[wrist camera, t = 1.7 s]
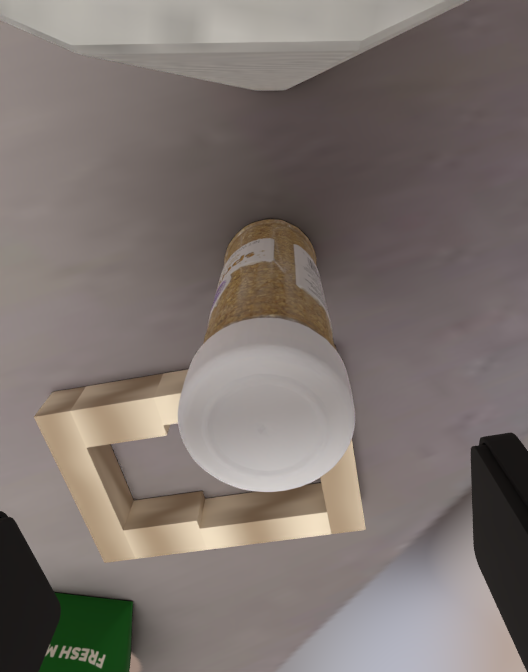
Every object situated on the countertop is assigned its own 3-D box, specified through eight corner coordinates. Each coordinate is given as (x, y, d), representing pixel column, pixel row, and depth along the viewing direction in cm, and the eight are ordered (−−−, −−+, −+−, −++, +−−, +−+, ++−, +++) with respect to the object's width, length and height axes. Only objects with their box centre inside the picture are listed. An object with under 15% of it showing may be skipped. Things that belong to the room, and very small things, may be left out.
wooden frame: (335, 344, 26) (340, 367, 24) (359, 499, 31) (365, 529, 29) (52, 391, 28) (33, 417, 26) (115, 531, 33) (104, 562, 30)
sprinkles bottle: (226, 213, 23) (173, 342, 11) (322, 221, 23) (372, 356, 11) (223, 303, 25) (175, 494, 13) (311, 310, 25) (344, 506, 13)
